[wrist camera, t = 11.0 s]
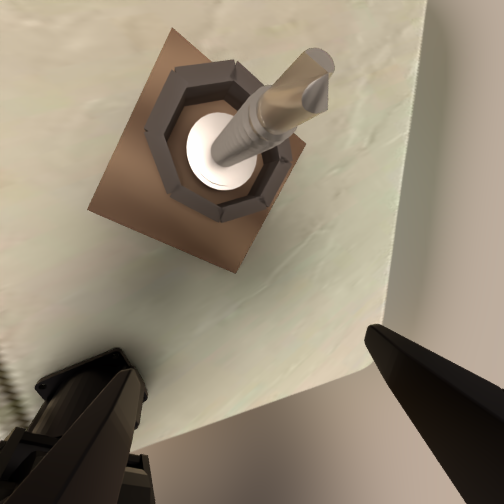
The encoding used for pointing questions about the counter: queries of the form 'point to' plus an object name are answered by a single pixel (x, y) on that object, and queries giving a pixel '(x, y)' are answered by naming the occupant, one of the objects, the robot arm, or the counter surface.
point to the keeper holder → (177, 166)
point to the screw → (259, 122)
